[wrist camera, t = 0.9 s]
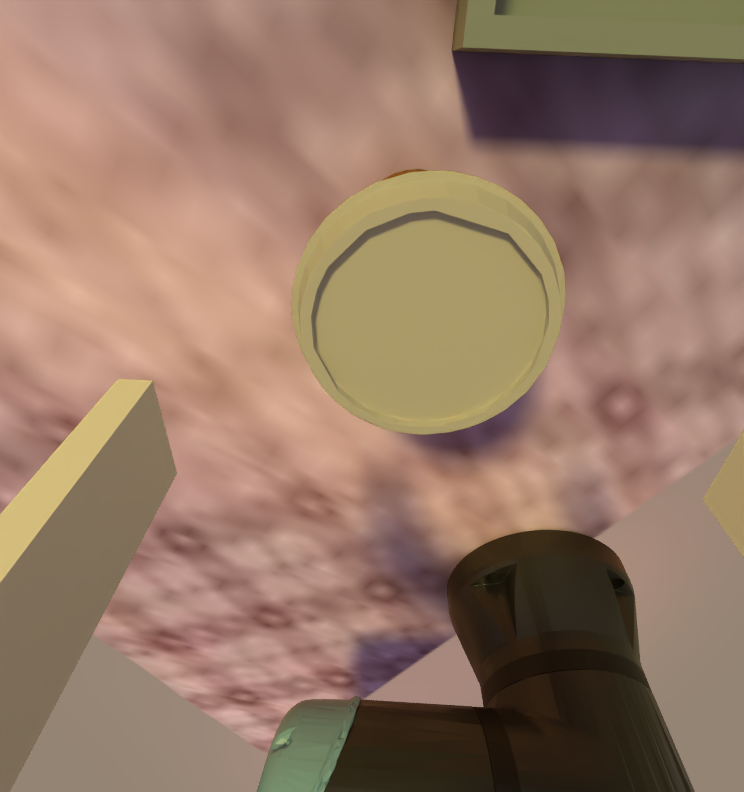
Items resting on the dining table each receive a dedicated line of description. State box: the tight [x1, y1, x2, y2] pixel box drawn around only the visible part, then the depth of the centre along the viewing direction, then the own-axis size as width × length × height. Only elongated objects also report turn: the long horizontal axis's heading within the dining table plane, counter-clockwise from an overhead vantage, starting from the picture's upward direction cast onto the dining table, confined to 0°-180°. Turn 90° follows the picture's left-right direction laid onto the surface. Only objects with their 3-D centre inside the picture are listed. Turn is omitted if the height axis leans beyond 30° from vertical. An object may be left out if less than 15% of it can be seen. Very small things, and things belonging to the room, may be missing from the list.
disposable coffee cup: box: [292, 169, 565, 435], centre depth 21 cm, size 10×10×12 cm
